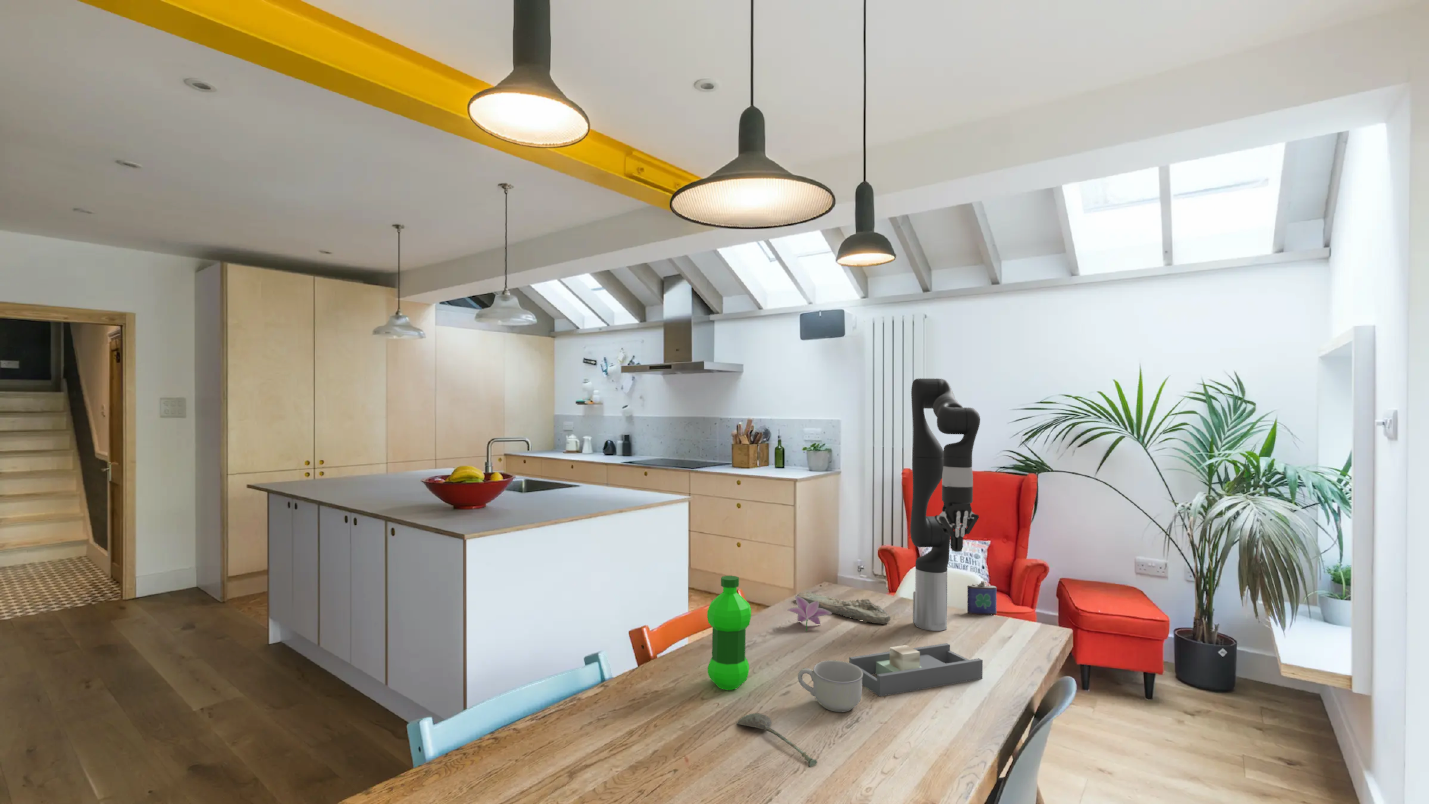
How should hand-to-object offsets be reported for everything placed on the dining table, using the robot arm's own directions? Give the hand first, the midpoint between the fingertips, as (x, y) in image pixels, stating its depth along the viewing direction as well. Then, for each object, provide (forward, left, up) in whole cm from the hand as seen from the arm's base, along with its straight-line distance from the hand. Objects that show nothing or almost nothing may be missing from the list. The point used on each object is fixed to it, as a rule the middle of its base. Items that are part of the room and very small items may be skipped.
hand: (956, 550), depth 170 cm
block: (+4, -19, -26) cm, 32 cm away
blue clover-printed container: (-31, +39, -29) cm, 58 cm away
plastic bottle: (-7, -61, -29) cm, 68 cm away
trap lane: (+4, -16, -29) cm, 33 cm away
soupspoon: (+20, -62, -30) cm, 72 cm away
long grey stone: (-48, -4, -30) cm, 56 cm away
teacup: (+10, -44, -29) cm, 54 cm away
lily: (-37, -22, -29) cm, 52 cm away
